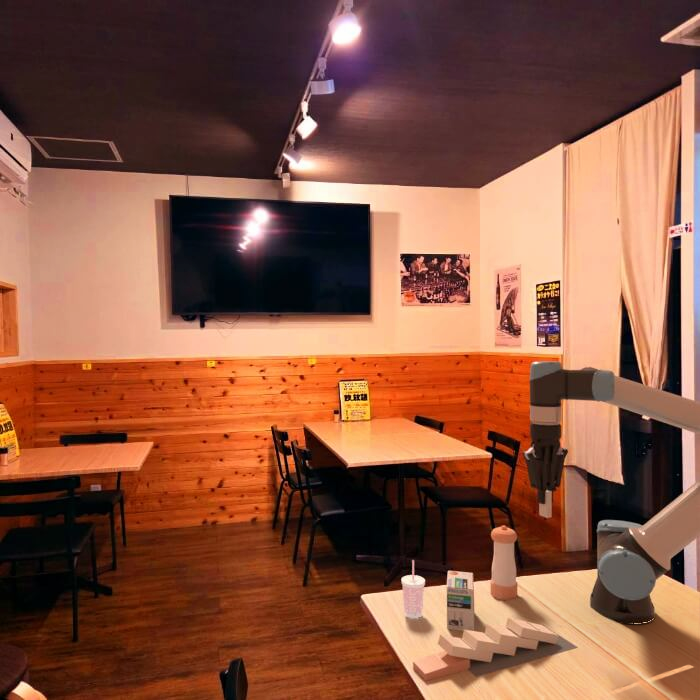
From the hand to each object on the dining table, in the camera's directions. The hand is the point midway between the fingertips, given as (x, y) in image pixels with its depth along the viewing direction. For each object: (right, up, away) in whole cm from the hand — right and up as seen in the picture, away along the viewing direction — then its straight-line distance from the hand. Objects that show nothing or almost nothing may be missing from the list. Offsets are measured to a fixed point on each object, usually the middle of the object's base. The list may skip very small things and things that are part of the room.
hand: (545, 516), depth 139 cm
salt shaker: (-6, -27, +15) cm, 31 cm away
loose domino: (-14, -25, -14) cm, 32 cm away
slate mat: (-12, -27, -14) cm, 32 cm away
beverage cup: (-33, -27, +3) cm, 42 cm away
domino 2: (-19, -25, -17) cm, 36 cm away
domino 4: (-3, -25, -10) cm, 27 cm away
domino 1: (-25, -25, -19) cm, 40 cm away
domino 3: (-8, -25, -12) cm, 29 cm away
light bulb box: (-22, -27, 0) cm, 34 cm away
